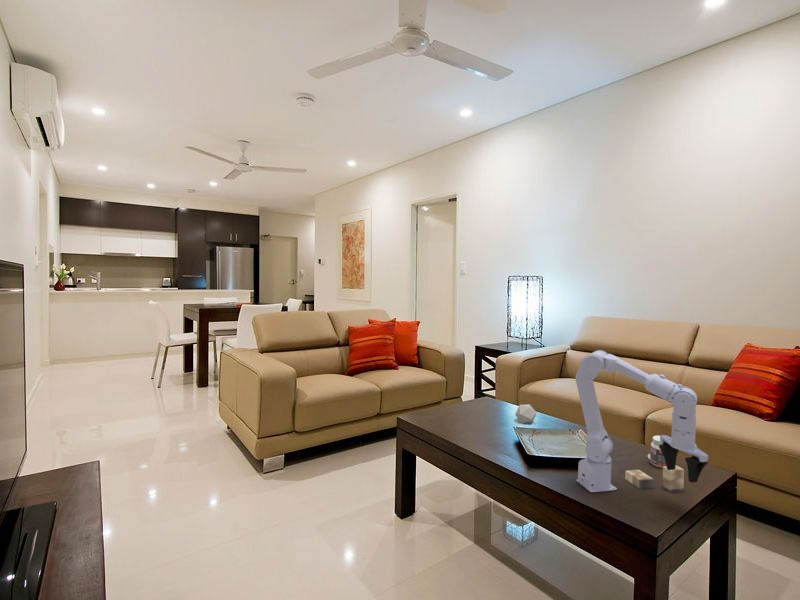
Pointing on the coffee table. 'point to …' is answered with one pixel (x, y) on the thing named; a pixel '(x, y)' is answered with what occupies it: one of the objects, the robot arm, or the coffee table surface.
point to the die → (525, 413)
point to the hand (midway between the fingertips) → (681, 475)
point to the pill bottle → (657, 453)
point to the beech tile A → (639, 479)
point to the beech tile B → (673, 479)
